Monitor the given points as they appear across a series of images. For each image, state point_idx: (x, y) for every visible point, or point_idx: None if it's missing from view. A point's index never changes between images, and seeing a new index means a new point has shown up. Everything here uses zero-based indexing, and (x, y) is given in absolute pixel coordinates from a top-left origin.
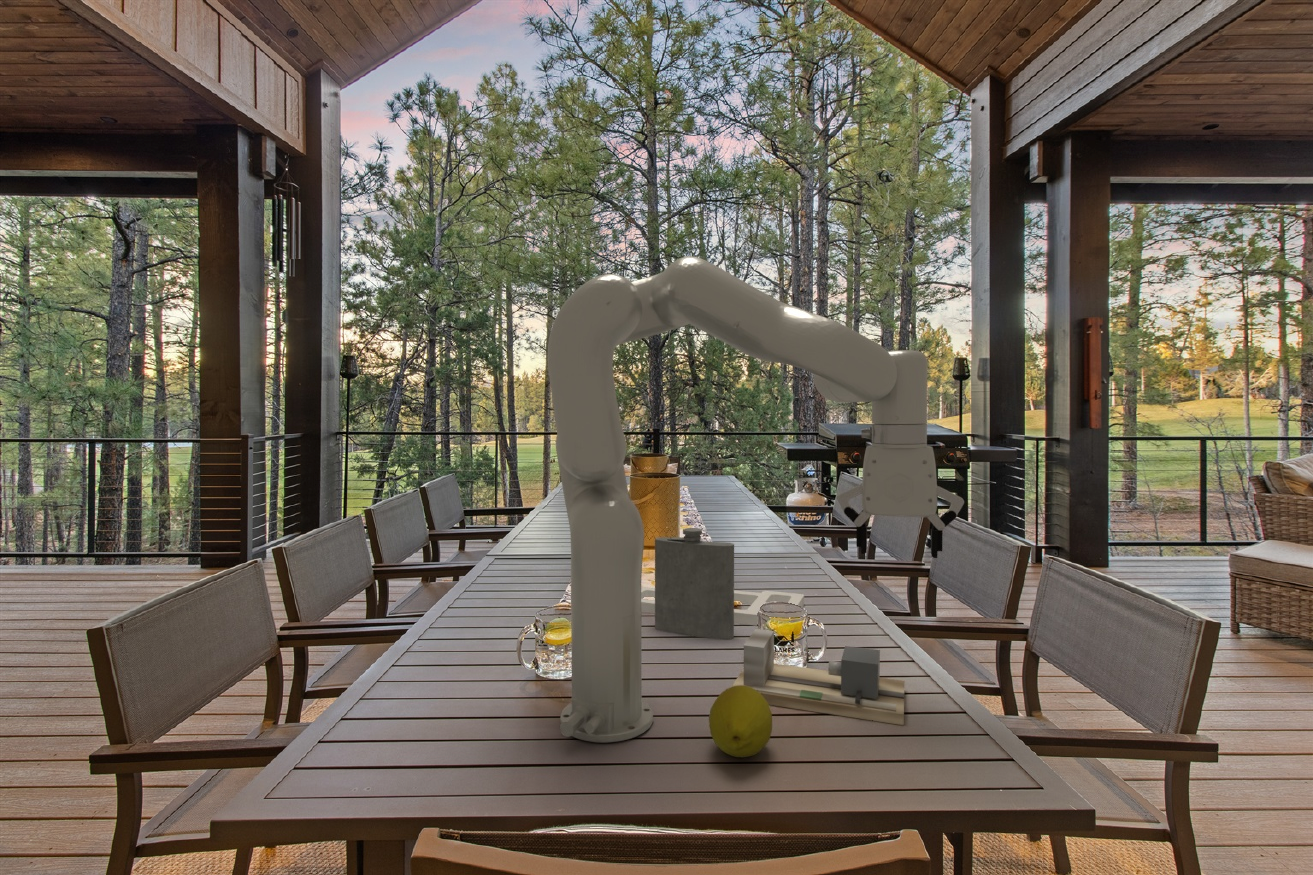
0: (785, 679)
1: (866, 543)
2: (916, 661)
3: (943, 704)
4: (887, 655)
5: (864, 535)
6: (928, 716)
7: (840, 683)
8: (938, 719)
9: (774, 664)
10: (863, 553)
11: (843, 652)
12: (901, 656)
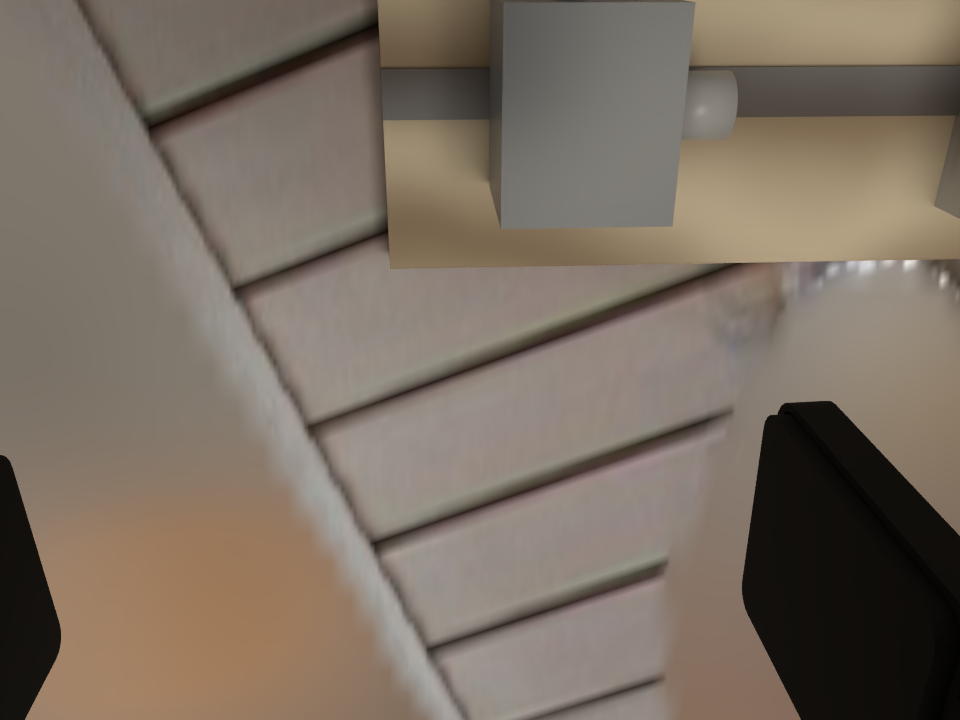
0: (891, 82)
1: (798, 541)
2: (363, 544)
3: (236, 173)
4: (469, 562)
5: (904, 529)
6: (283, 26)
7: None
8: (243, 10)
9: (928, 249)
10: (797, 402)
11: (682, 124)
12: (419, 570)
